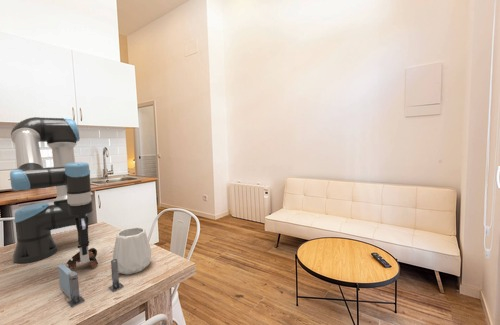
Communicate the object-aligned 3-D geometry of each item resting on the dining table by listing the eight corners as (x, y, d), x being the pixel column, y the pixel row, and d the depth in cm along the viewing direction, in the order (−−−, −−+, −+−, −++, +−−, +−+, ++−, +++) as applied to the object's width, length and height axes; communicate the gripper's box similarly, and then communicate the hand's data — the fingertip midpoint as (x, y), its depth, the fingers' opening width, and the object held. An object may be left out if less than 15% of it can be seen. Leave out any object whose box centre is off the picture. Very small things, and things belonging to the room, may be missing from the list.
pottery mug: (92, 273, 94) (77, 258, 92) (73, 283, 95) (58, 268, 93) (108, 253, 106) (95, 239, 103) (91, 262, 107) (78, 249, 104)
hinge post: (67, 302, 77) (65, 279, 76) (80, 296, 80) (78, 274, 79) (71, 307, 75) (69, 283, 74) (84, 301, 78) (82, 277, 77)
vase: (159, 261, 103) (157, 227, 101) (134, 279, 89) (131, 240, 88) (132, 257, 107) (130, 224, 106) (105, 274, 94) (102, 236, 92)
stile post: (108, 288, 84) (106, 261, 83) (119, 283, 87) (117, 257, 86) (113, 291, 82) (111, 264, 81) (123, 286, 85) (121, 259, 84)
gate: (80, 300, 77) (77, 274, 77) (74, 302, 76) (71, 276, 75) (65, 285, 86) (63, 261, 85) (60, 287, 84) (57, 263, 84)
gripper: (94, 204, 89) (99, 264, 92) (89, 198, 99) (93, 252, 101) (69, 208, 84) (74, 271, 87) (66, 201, 94) (71, 258, 97)
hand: (84, 261), depth 94 cm, fingers closed
